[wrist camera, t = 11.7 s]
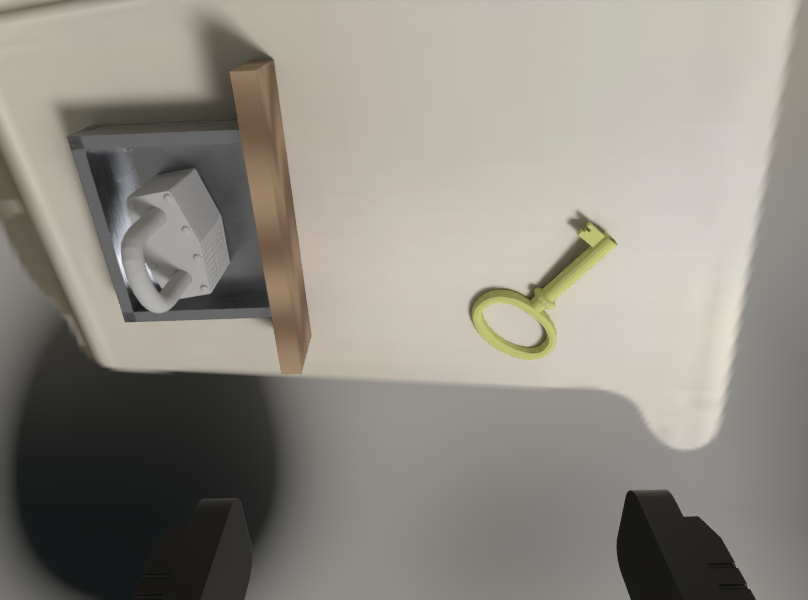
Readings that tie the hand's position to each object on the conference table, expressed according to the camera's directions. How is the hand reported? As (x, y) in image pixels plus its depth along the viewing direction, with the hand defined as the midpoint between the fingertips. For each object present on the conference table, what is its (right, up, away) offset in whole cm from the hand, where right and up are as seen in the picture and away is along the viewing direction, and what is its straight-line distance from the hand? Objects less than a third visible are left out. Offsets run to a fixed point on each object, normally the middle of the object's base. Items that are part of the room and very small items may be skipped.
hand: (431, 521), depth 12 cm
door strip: (-9, +11, +28) cm, 32 cm away
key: (+10, +5, +32) cm, 34 cm away
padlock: (-15, +10, +28) cm, 34 cm away
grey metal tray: (-15, +10, +29) cm, 34 cm away
